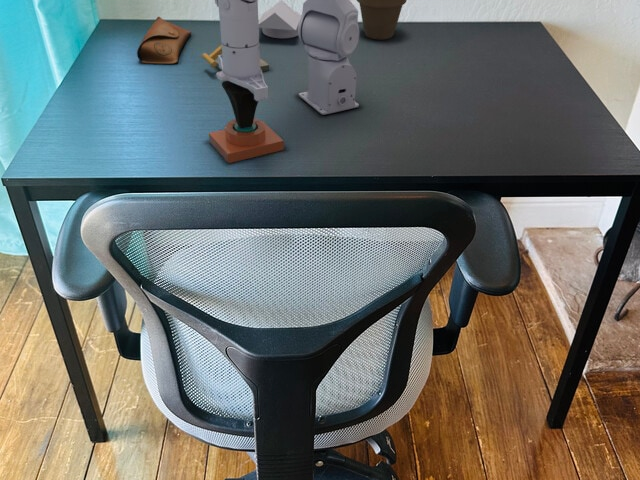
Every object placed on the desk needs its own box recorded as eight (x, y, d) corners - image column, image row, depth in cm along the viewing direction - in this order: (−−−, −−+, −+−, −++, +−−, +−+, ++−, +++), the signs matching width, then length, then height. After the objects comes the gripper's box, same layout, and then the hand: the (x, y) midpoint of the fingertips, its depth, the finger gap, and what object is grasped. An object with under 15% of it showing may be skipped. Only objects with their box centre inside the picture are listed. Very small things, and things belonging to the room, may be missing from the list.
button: (260, 137, 109) (259, 127, 108) (240, 142, 108) (239, 132, 107) (251, 128, 112) (250, 118, 110) (231, 133, 110) (230, 123, 109)
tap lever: (215, 70, 130) (208, 61, 128) (205, 61, 133) (199, 52, 131) (253, 37, 130) (247, 27, 128) (243, 29, 133) (236, 19, 131)
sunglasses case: (179, 62, 135) (158, 32, 131) (152, 78, 138) (131, 50, 134) (192, 31, 149) (174, 3, 145) (168, 46, 151) (149, 20, 147)
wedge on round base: (295, 46, 145) (304, 25, 155) (295, 14, 141) (304, -5, 150) (255, 43, 146) (266, 23, 155) (254, 11, 141) (265, -8, 151)
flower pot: (345, 29, 154) (347, -18, 147) (388, 24, 157) (392, -22, 150) (367, 46, 146) (370, -2, 139) (411, 40, 150) (417, -7, 143)
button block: (283, 149, 110) (283, 130, 108) (228, 163, 107) (227, 143, 104) (262, 130, 116) (262, 111, 113) (209, 142, 112) (207, 122, 109)
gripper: (197, 29, 102) (205, 112, 112) (235, 62, 93) (241, 150, 102) (239, 23, 105) (243, 104, 114) (280, 54, 96) (281, 140, 105)
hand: (245, 125), depth 109 cm, fingers closed, pressing on button
